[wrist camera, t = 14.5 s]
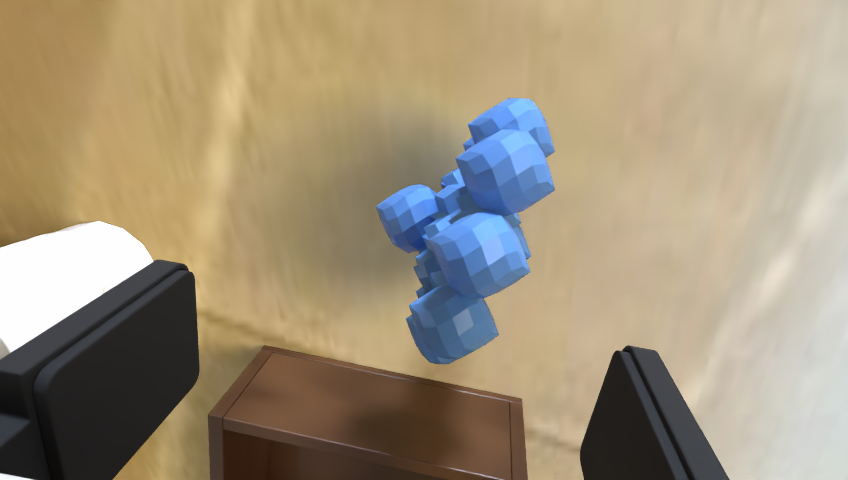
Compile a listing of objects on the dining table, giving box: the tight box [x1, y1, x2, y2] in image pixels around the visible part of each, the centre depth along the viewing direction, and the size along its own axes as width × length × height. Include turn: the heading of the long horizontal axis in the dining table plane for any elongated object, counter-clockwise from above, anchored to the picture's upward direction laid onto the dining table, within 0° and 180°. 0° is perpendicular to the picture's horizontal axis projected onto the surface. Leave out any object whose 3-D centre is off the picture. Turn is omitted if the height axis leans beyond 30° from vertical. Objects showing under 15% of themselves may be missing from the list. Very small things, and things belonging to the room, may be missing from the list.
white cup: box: [0, 221, 154, 359], centre depth 26 cm, size 8×8×10 cm
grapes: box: [376, 98, 555, 364], centre depth 20 cm, size 12×7×12 cm, turn 163°
